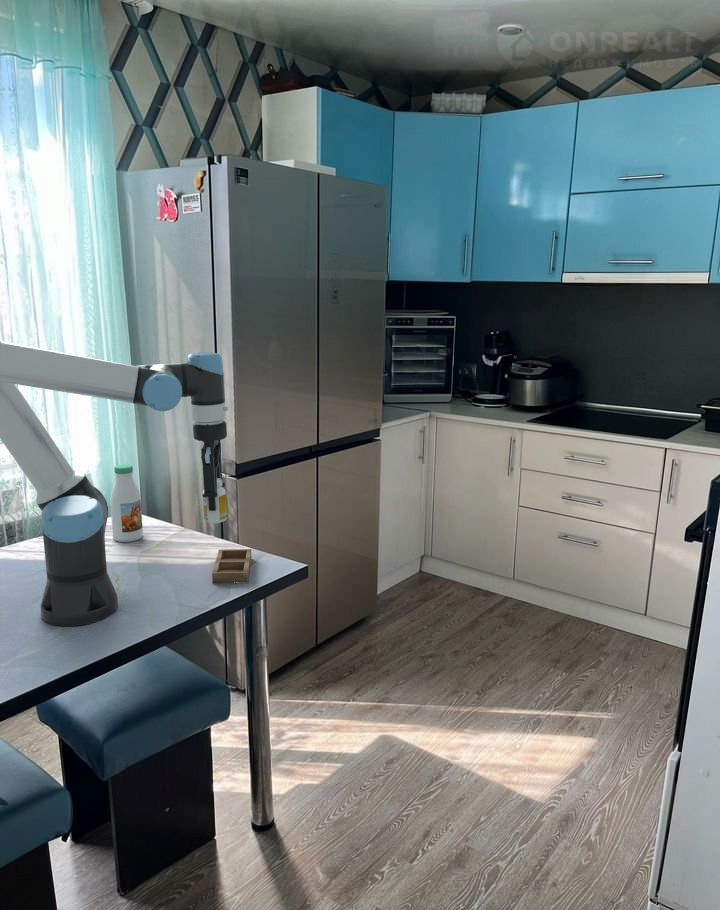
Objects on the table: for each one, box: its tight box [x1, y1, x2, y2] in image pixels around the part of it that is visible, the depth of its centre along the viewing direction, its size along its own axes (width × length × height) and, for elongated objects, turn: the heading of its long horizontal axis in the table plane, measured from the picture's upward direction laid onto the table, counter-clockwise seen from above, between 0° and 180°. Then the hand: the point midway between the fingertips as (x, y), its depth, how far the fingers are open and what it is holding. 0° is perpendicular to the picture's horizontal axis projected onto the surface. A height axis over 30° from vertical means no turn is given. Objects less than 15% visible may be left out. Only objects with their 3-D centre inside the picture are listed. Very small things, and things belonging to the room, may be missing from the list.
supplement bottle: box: [201, 478, 228, 523], centre depth 168 cm, size 5×5×10 cm
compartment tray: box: [211, 548, 253, 585], centre depth 173 cm, size 15×8×2 cm, turn 5°
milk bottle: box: [110, 463, 144, 543], centre depth 192 cm, size 8×8×20 cm
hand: (215, 518), depth 169 cm, fingers closed on supplement bottle, 5 cm apart
